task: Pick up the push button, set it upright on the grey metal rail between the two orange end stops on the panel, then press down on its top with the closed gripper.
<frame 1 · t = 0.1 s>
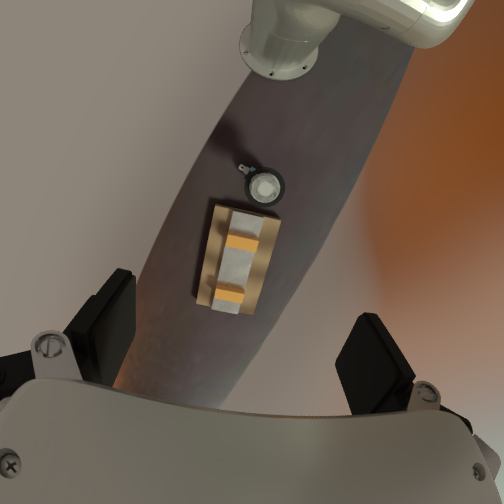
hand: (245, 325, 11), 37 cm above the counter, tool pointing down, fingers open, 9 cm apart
din panel: (235, 261, 50), on the counter
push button: (257, 175, 44), on the counter
end stops: (235, 269, 47), on the din rail, point 3 cm above the counter
din rail: (235, 266, 48), on the din panel, point 1 cm above the counter
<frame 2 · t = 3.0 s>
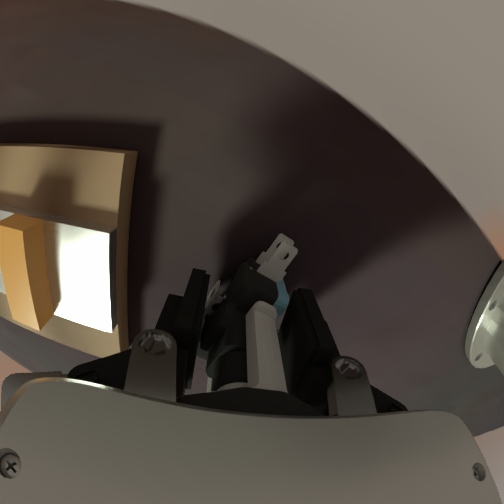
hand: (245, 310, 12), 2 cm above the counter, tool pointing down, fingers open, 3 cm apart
din panel: (1, 233, 12), on the counter
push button: (247, 287, 14), on the counter, touching gripper
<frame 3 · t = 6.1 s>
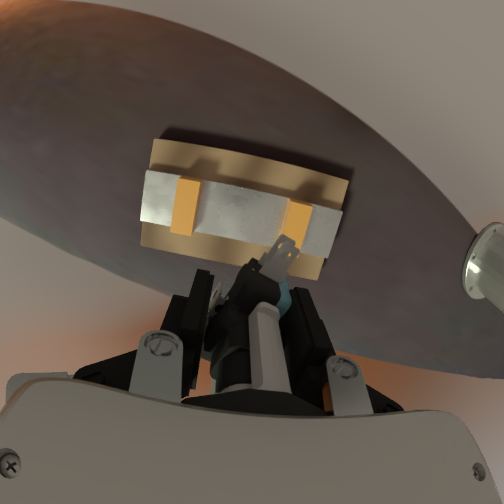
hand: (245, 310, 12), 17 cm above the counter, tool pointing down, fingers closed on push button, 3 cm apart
din panel: (240, 208, 28), on the counter
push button: (249, 288, 14), point 16 cm above the counter, touching gripper
end stops: (240, 216, 25), on the din rail, point 3 cm above the counter
din rail: (240, 213, 26), on the din panel, point 2 cm above the counter
when the fingers open (5 cm above the counter, at t = 8.8 s): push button stays where it is, resting on din rail.
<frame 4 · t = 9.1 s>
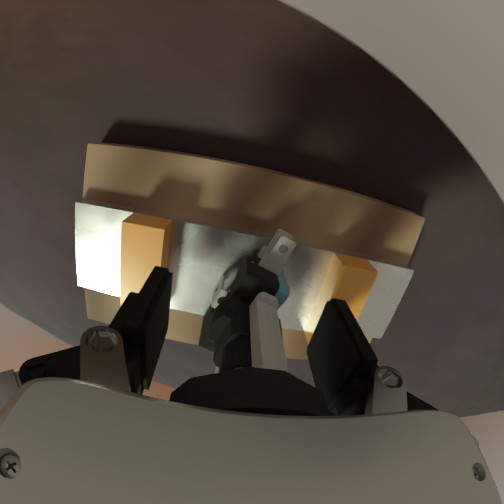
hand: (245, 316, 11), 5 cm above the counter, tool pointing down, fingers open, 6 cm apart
din panel: (244, 262, 16), on the counter
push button: (250, 281, 14), point 2 cm above the counter, touching din rail
end stops: (244, 289, 13), on the din rail, point 3 cm above the counter
din rail: (244, 278, 14), on the din panel, point 2 cm above the counter
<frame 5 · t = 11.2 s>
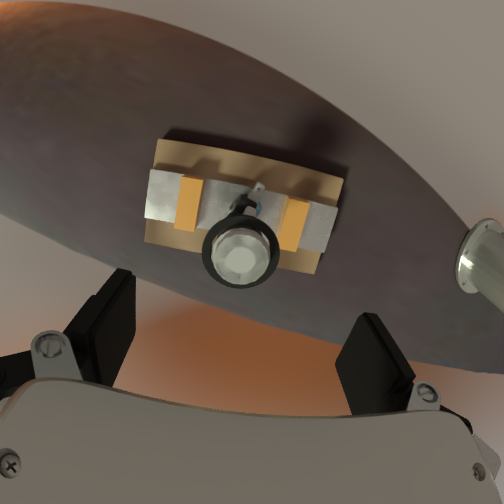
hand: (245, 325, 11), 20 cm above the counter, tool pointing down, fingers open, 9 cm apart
din panel: (240, 205, 29), on the counter
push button: (243, 211, 27), point 2 cm above the counter, touching din rail
end stops: (240, 213, 26), on the din rail, point 3 cm above the counter
din rail: (240, 210, 27), on the din panel, point 1 cm above the counter
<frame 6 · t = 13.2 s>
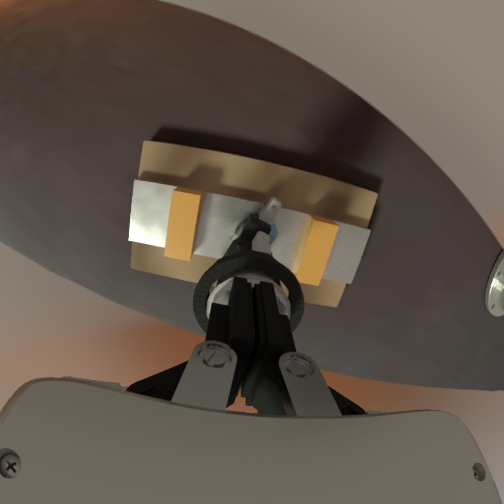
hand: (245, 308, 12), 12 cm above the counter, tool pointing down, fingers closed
din panel: (249, 225, 23), on the counter
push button: (253, 234, 21), point 2 cm above the counter, touching din rail, gripper
end stops: (250, 237, 21), on the din rail, point 3 cm above the counter
din rail: (249, 232, 22), on the din panel, point 2 cm above the counter
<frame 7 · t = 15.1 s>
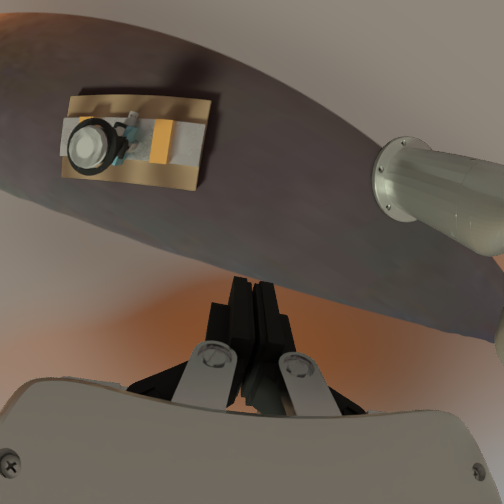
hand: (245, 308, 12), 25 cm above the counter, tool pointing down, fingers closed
din panel: (130, 138, 30), on the counter
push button: (127, 138, 29), point 2 cm above the counter, touching din rail
end stops: (122, 138, 28), on the din rail, point 3 cm above the counter
din rail: (125, 138, 29), on the din panel, point 1 cm above the counter
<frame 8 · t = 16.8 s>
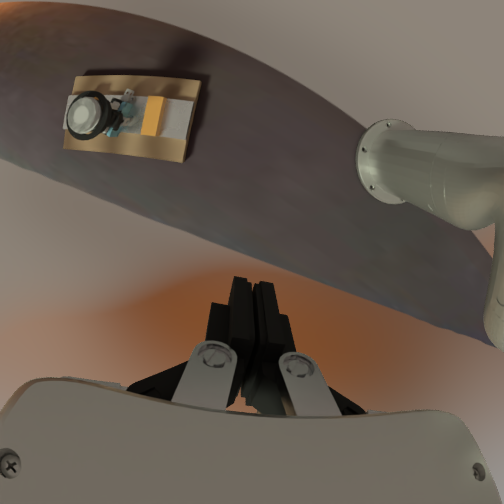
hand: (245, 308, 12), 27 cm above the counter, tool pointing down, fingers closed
din panel: (127, 114, 32), on the counter
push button: (123, 114, 30), point 2 cm above the counter, touching din rail
end stops: (118, 113, 29), on the din rail, point 3 cm above the counter
din rail: (121, 113, 30), on the din panel, point 2 cm above the counter
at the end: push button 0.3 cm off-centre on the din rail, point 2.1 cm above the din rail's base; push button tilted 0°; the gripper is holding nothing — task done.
